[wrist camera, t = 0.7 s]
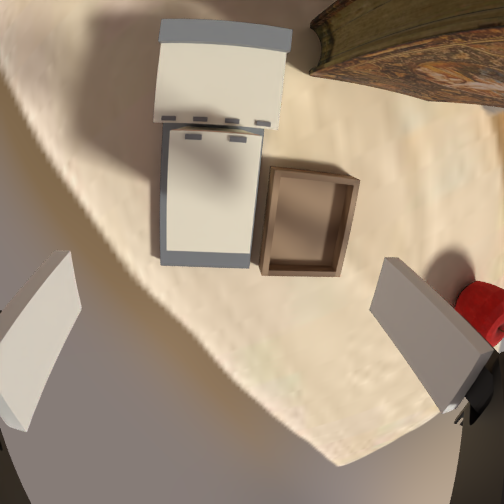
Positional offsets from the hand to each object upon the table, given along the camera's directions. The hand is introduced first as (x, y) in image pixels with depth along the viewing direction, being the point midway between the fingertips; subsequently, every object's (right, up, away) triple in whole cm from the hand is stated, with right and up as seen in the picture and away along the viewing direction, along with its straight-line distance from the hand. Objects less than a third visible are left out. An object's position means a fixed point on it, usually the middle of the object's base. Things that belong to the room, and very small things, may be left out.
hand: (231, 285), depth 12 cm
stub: (-3, +9, +15) cm, 18 cm away
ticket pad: (-2, +16, +12) cm, 20 cm away
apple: (+35, -6, +29) cm, 45 cm away
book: (+14, +21, +14) cm, 28 cm away
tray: (+6, +4, +20) cm, 21 cm away
